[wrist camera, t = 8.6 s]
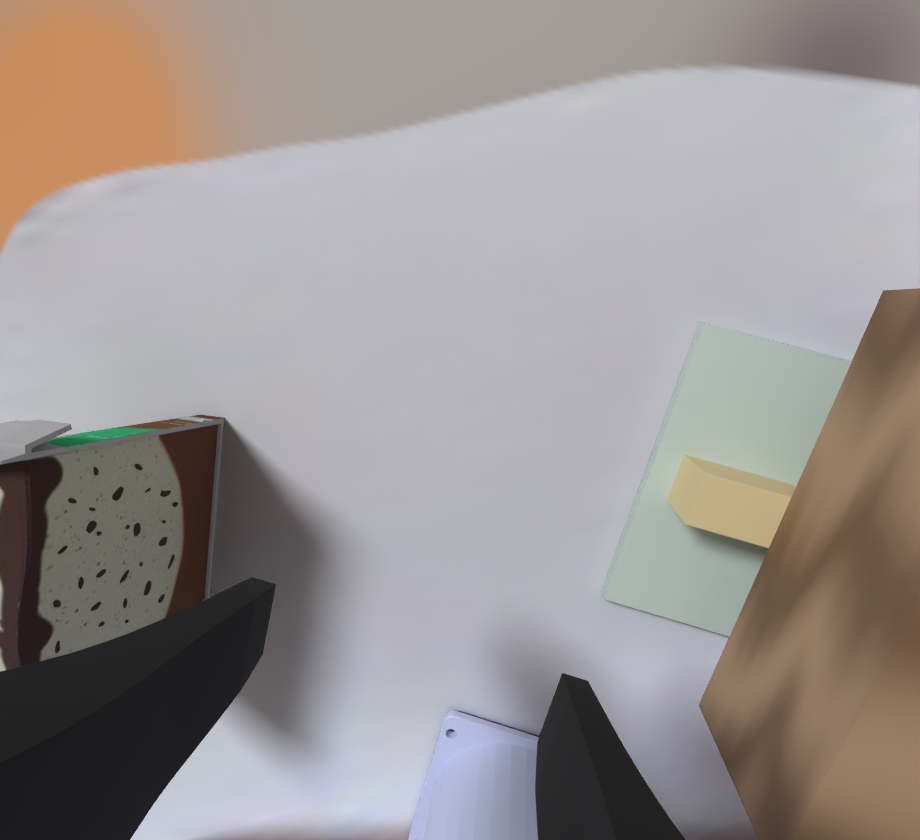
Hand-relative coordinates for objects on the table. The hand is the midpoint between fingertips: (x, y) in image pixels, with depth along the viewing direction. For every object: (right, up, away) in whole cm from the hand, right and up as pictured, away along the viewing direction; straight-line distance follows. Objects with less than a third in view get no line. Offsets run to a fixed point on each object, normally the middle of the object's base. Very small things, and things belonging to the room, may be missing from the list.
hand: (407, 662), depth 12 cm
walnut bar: (+14, +2, +5) cm, 15 cm away
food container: (-13, +2, +12) cm, 18 cm away
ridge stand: (+15, +2, +8) cm, 17 cm away
